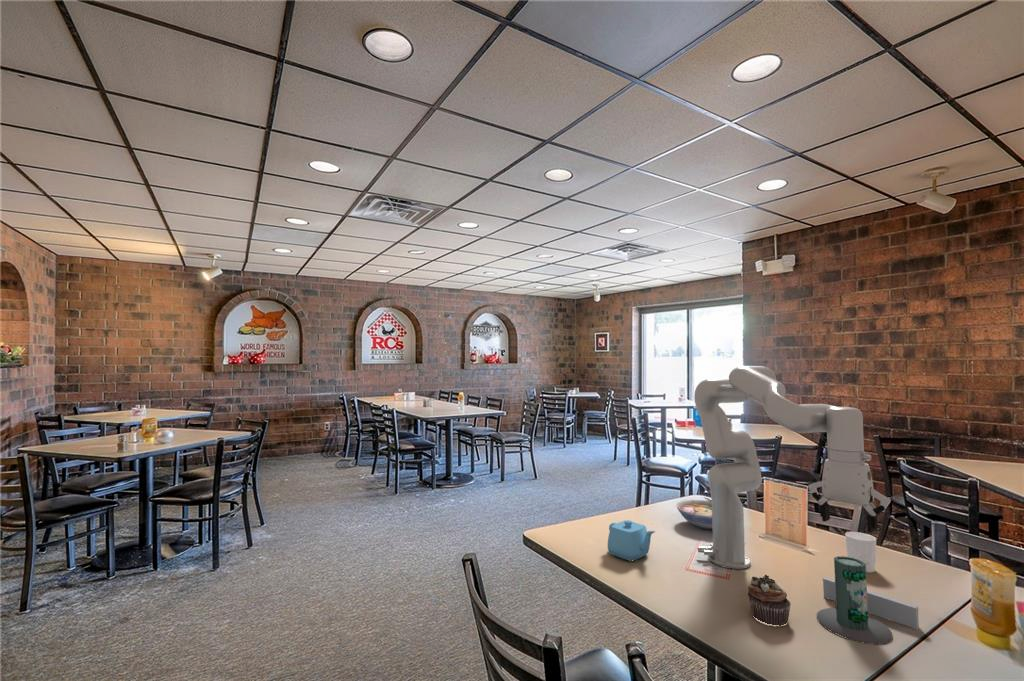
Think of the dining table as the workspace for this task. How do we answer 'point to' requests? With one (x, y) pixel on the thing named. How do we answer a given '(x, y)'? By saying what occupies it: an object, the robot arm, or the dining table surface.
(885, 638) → the mat
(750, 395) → the robot arm
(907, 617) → the panel
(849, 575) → the can
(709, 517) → the ramen bowl
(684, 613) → the dining table surface
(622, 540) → the teapot
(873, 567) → the white cup
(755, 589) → the cupcake
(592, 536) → the dining table surface
